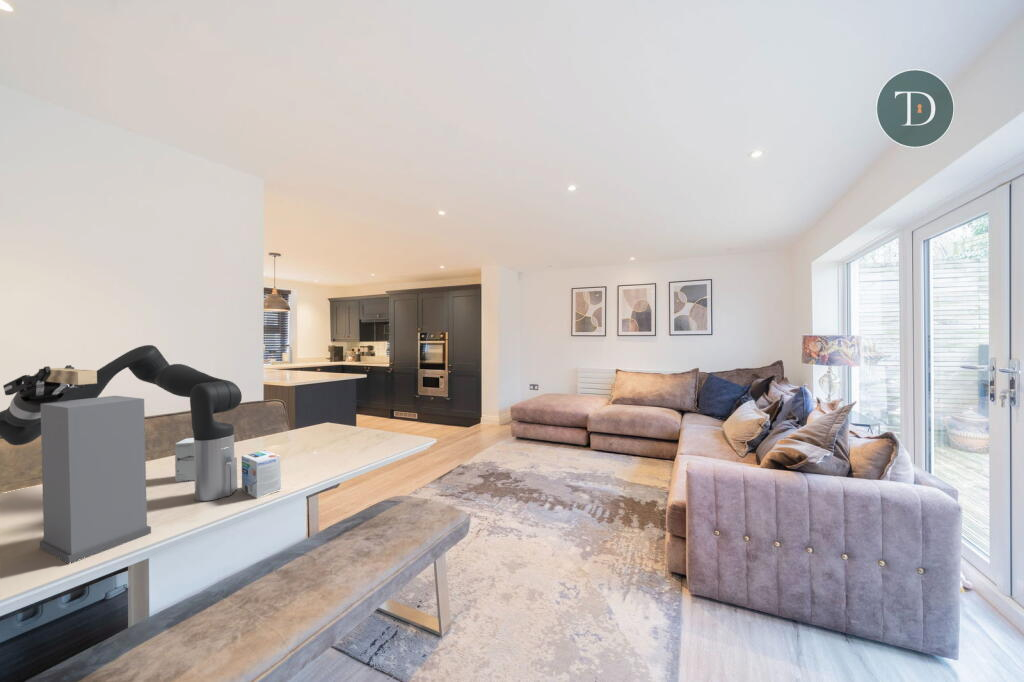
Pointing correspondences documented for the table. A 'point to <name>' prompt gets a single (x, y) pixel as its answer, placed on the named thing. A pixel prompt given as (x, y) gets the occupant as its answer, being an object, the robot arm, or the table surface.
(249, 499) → the table surface
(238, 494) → the table surface
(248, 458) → the light bulb box
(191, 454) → the supplement box
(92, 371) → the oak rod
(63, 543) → the charcoal pedestal
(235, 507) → the table surface
